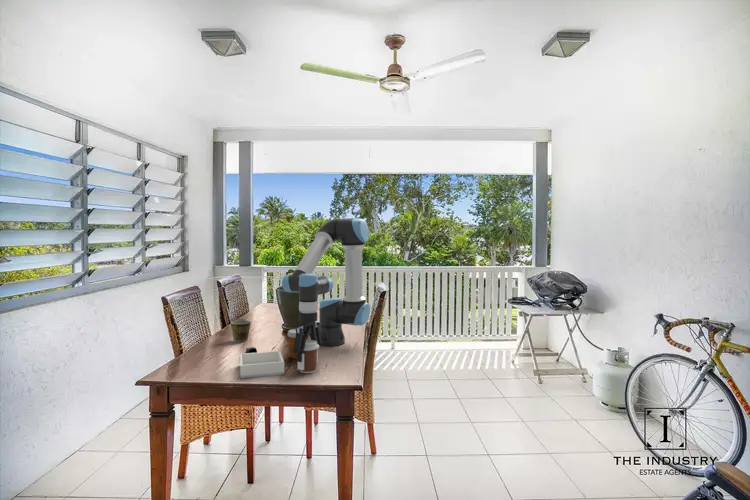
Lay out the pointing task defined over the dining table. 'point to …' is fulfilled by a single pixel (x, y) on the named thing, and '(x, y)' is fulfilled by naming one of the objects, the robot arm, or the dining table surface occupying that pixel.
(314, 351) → the coffee cup
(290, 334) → the disposable coffee cup
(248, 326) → the ceramic cup
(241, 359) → the box
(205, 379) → the dining table surface
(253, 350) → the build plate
